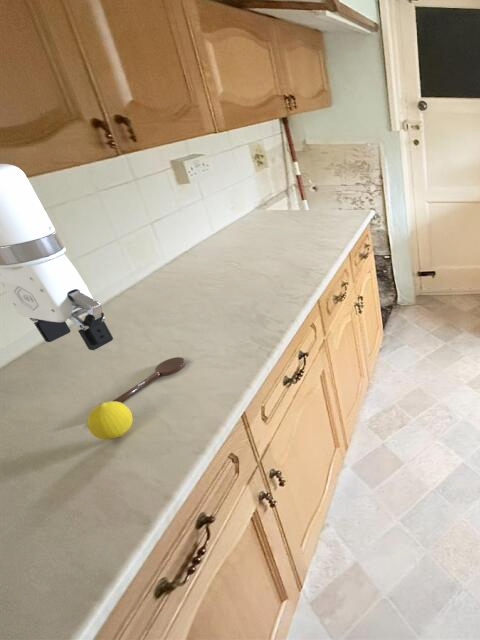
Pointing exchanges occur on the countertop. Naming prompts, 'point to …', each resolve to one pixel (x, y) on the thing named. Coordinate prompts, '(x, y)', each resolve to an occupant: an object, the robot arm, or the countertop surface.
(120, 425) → the lemon
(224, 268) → the countertop surface
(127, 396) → the spoon
